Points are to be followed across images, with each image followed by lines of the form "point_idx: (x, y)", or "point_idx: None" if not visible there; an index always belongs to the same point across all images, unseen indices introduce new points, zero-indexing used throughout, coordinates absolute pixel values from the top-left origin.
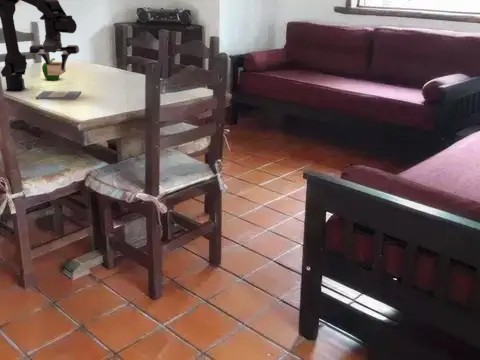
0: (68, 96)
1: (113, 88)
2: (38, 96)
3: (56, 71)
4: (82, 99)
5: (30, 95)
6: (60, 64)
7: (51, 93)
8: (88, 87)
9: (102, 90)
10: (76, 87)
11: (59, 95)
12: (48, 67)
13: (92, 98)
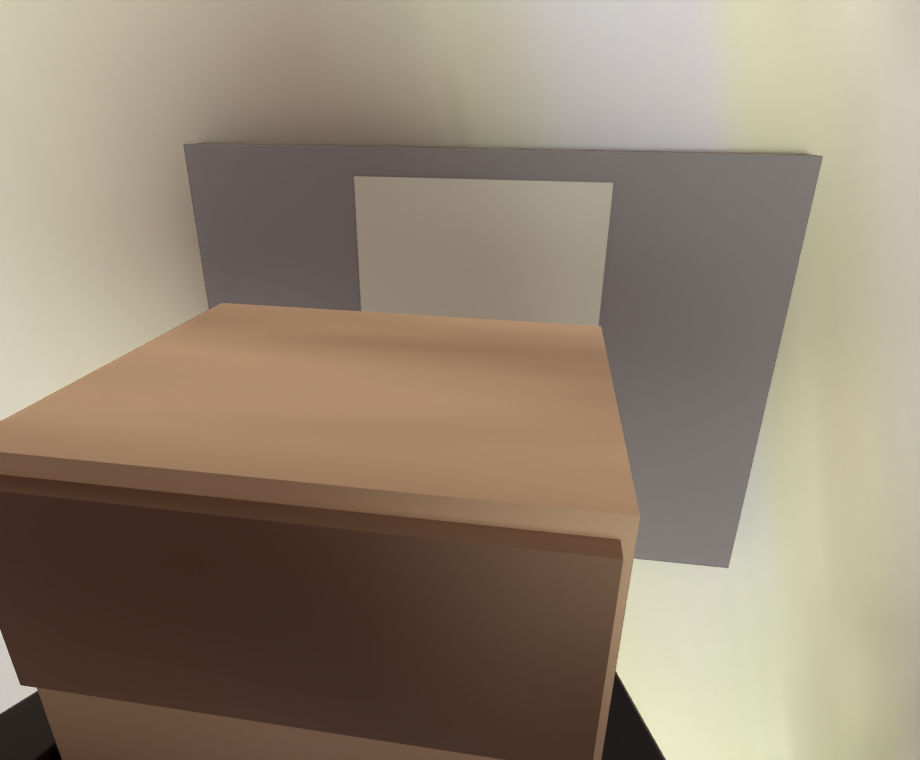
0: (298, 212)
1: None
2: (773, 205)
3: (269, 348)
4: (103, 142)
5: (910, 412)
6: (48, 683)
7: None
8: None
9: None
10: None
11: (442, 265)
12: (553, 446)
13: (7, 211)
